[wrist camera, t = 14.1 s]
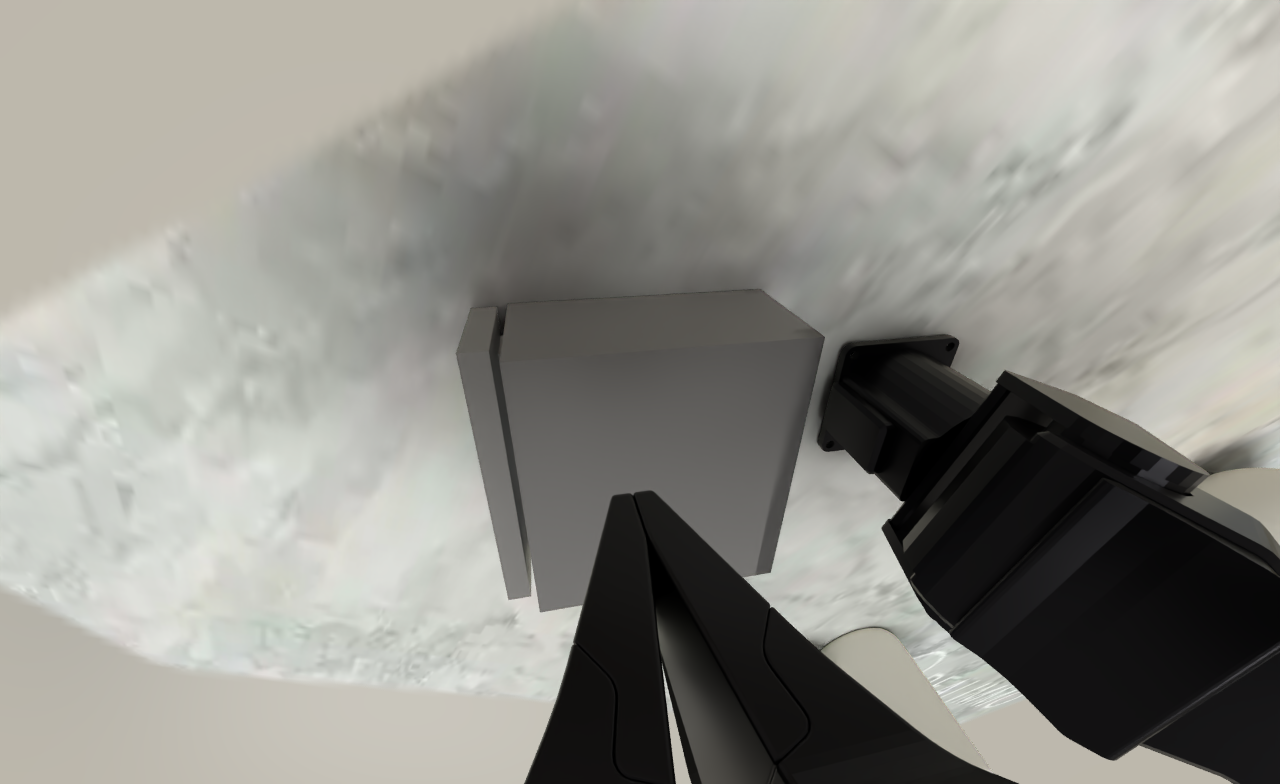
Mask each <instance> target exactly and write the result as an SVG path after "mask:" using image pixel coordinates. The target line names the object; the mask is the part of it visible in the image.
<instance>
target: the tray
mask: <svg viewBox="0 0 1280 784" xmlns="http://www.w3.org/2000/svg"><path fill="white" fill-rule="evenodd" d="M502 341H503V336H501V329H500V323H499V316H498V310H497V307H482V308H471V309H470V312H469V315H468V319H467V322H466V325H465V328H464V331H463V334H462V337H461V340H460V343H459V346H458V349H457V352H456V355H457V360H458V365H459V369H460V374H461V379H462V383H463V388H464V393H465V398H466V402H467V407H468V412H469V416H470V421H471V426H472V430H473V435H474V440H475V445H476V449H477V454H478V459H479V463H480V468H481V473H482V477H483V482H484V487H485V491H486V496H487V501H488V506H489V510H490V515H491V520H492V524H493V529H494V534H495V538H496V543H497V548H498V552H499V557H500V562H501V567H502V571H503V576H504V581H505V585H506V590H507V595H508V599H509V600H511V599H517V598H523V597H529V596H531V553H530V547H529V540H528V534H527V528H526V522H525V516H524V510H523V503H522V497H521V491H520V485H519V479H518V473H517V466H516V460H515V454H514V448H513V442H512V435H511V429H510V423H509V417H508V411H507V405H506V398H505V392H504V386H503V380H502V374H501V367H500V356H501V349H502Z"/></svg>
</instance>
